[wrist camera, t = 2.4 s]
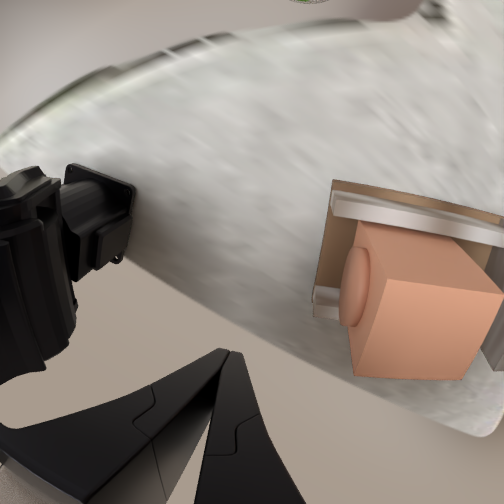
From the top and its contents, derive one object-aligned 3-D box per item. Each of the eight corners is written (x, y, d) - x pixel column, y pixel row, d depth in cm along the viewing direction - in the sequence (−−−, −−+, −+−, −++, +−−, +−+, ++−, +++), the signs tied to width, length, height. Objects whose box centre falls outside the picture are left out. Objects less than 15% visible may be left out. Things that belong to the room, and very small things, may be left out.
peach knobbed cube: (333, 291, 20) (340, 374, 13) (349, 216, 18) (372, 276, 11) (424, 302, 19) (461, 379, 12) (446, 234, 17) (505, 295, 10)
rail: (311, 296, 22) (310, 361, 16) (332, 179, 19) (345, 208, 13) (478, 316, 21) (512, 370, 15) (513, 219, 17) (566, 257, 11)
